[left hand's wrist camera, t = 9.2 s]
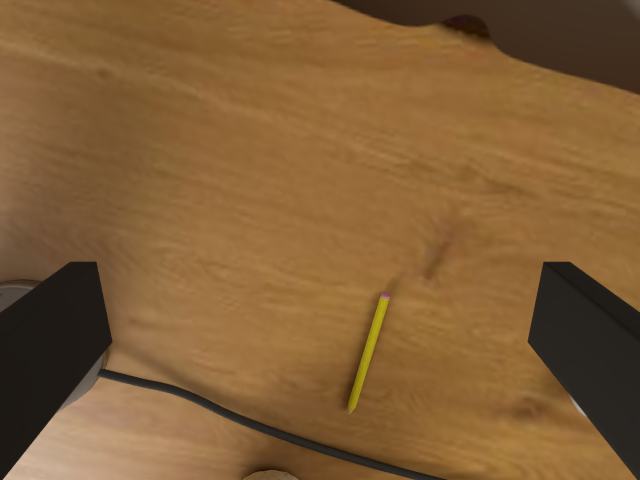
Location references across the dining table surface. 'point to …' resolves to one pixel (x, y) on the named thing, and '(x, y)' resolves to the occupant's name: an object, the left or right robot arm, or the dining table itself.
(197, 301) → the dining table surface
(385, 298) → the pencil
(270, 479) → the bowl
